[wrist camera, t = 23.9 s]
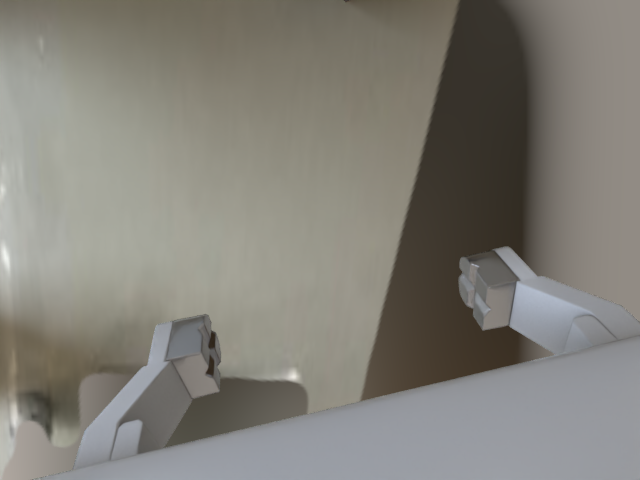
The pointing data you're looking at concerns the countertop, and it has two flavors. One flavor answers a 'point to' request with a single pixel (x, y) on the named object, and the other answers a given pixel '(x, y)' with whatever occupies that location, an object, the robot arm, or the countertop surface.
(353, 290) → the countertop surface
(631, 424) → the robot arm
